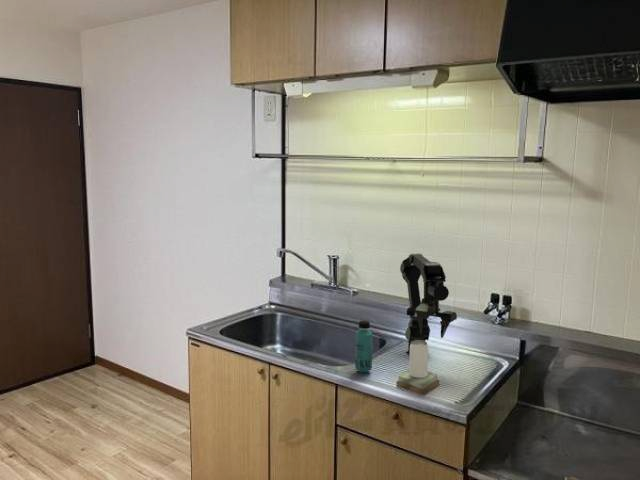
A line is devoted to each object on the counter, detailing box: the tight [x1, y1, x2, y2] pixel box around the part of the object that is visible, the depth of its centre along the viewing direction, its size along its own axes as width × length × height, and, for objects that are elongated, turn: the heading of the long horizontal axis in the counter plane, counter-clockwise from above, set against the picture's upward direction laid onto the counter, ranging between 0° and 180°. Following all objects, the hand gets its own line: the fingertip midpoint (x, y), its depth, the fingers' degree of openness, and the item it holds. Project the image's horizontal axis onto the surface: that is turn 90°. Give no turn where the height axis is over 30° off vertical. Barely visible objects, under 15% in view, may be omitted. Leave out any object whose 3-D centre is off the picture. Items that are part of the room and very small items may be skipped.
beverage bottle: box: [354, 320, 373, 373], centre depth 198 cm, size 6×7×20 cm
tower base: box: [396, 369, 440, 396], centre depth 187 cm, size 11×11×4 cm
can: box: [408, 340, 429, 378], centre depth 186 cm, size 6×6×12 cm
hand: (431, 335), depth 202 cm, fingers open, 9 cm apart
